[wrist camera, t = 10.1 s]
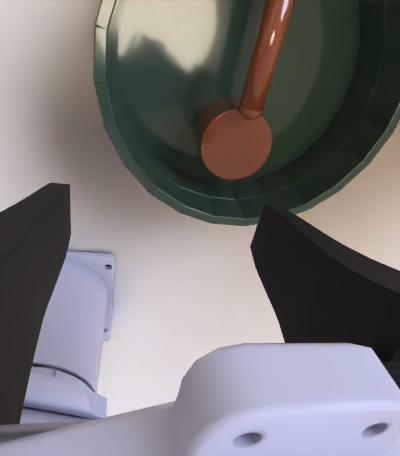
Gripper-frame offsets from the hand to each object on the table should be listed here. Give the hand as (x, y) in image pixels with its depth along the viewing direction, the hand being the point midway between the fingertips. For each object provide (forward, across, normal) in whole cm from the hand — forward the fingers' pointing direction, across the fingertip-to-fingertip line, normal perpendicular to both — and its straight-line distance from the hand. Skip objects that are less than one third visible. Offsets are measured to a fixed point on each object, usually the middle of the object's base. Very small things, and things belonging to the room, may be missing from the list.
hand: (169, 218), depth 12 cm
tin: (+9, -4, -4) cm, 11 cm away
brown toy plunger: (+9, -4, -5) cm, 11 cm away
